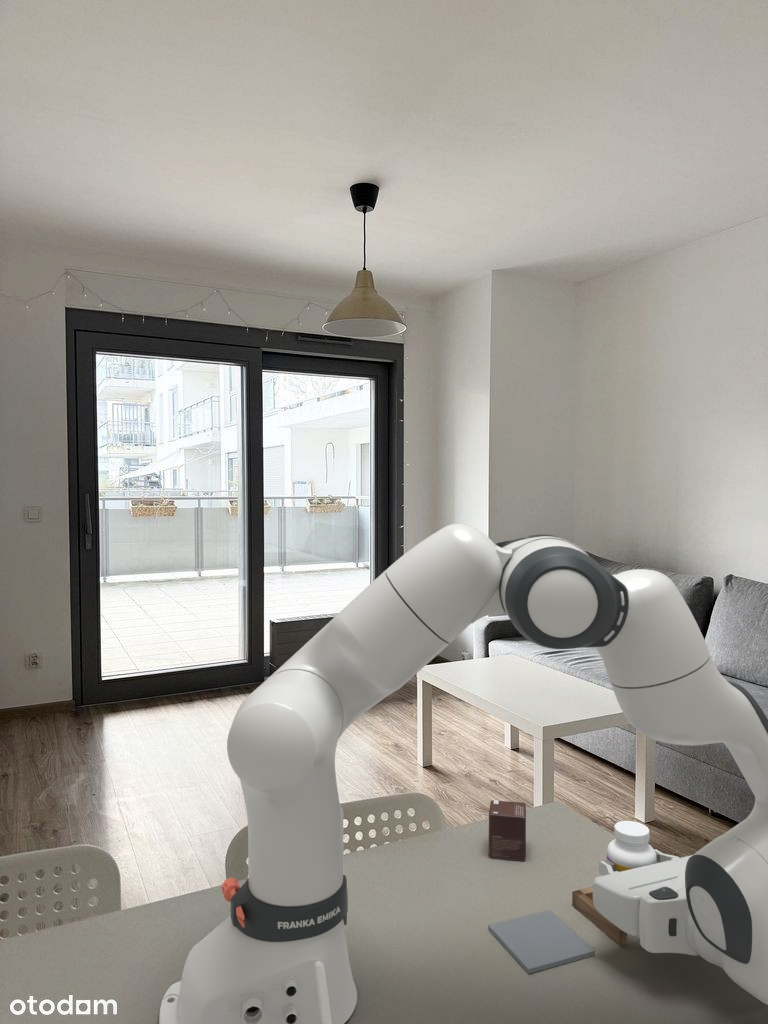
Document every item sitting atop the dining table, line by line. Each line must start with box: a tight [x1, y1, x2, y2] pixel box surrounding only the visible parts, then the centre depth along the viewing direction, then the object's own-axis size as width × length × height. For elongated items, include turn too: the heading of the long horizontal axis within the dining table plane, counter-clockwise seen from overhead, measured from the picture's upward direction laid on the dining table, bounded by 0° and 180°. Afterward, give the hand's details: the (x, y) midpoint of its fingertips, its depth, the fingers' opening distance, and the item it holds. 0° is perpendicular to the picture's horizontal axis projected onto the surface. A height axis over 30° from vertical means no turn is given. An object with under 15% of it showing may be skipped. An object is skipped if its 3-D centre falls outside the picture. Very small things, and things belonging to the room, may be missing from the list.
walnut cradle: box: [571, 886, 628, 946], centre depth 103 cm, size 11×10×2 cm
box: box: [488, 800, 527, 862], centre depth 121 cm, size 6×6×7 cm
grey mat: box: [487, 909, 596, 975], centre depth 97 cm, size 10×10×1 cm
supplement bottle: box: [606, 820, 657, 872], centre depth 102 cm, size 7×7×13 cm
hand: (626, 860), depth 103 cm, fingers open, 7 cm apart
